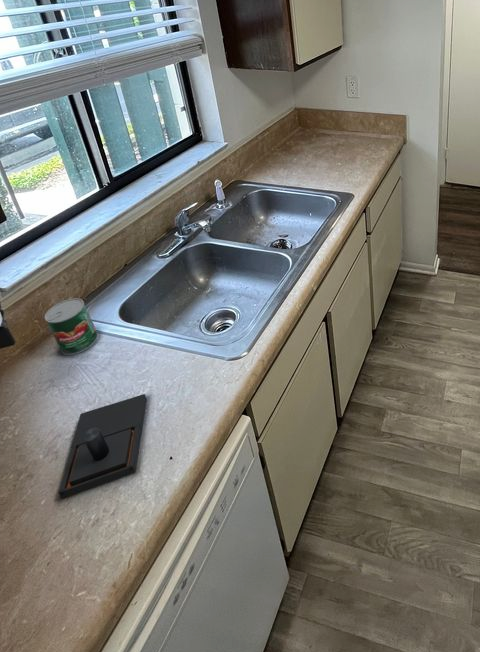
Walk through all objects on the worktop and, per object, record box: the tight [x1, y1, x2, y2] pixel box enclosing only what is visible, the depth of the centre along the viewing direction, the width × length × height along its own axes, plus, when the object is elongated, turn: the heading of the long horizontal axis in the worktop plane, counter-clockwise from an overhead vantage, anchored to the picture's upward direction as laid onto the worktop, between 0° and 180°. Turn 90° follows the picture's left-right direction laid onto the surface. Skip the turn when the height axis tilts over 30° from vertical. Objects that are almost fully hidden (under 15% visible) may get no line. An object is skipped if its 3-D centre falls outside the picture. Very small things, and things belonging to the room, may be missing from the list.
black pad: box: [69, 428, 133, 486], centre depth 83 cm, size 9×7×7 cm
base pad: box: [57, 393, 148, 499], centre depth 87 cm, size 12×16×2 cm
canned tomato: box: [44, 297, 99, 356], centre depth 108 cm, size 8×8×11 cm
